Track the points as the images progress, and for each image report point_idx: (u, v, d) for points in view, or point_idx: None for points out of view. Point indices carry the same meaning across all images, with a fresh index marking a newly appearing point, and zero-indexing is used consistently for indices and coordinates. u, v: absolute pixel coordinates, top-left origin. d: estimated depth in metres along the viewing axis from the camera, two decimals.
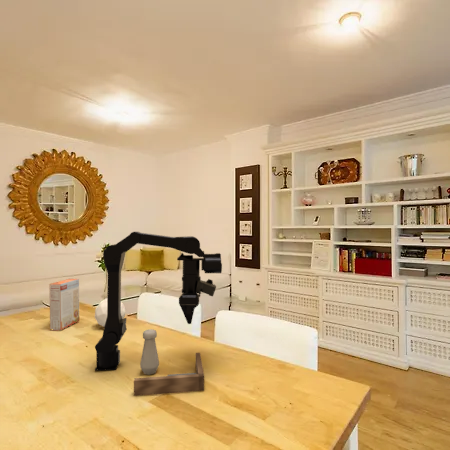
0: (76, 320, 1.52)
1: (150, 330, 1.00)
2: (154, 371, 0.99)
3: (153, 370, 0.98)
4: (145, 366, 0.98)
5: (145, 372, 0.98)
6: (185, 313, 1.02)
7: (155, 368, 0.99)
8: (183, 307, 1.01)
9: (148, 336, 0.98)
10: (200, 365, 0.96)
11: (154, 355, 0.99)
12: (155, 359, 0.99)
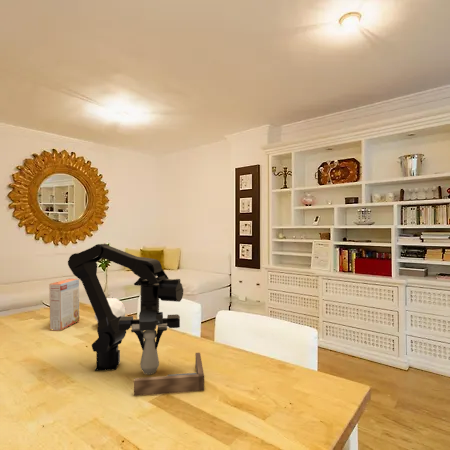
0: (76, 320, 1.52)
1: (150, 330, 1.01)
2: (154, 371, 0.99)
3: (153, 370, 0.98)
4: (144, 365, 0.98)
5: (145, 372, 0.98)
6: None
7: (155, 368, 0.99)
8: None
9: (148, 335, 0.98)
10: (200, 365, 0.96)
11: (154, 355, 0.99)
12: (155, 359, 0.99)
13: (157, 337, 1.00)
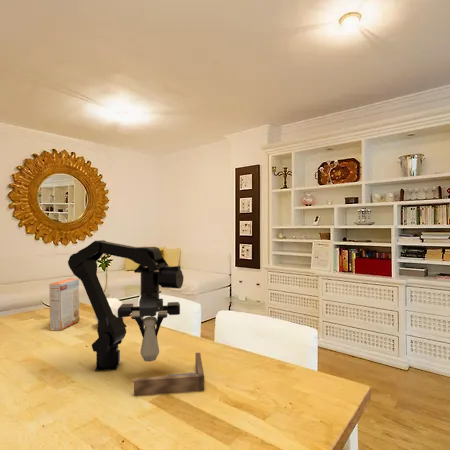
0: (76, 320, 1.52)
1: (150, 317, 1.01)
2: (154, 358, 0.99)
3: (153, 357, 0.98)
4: (145, 352, 0.98)
5: (145, 359, 0.98)
6: None
7: (155, 355, 0.99)
8: None
9: (148, 322, 0.99)
10: (200, 365, 0.96)
11: (154, 342, 0.99)
12: (155, 346, 0.99)
13: (157, 324, 1.00)
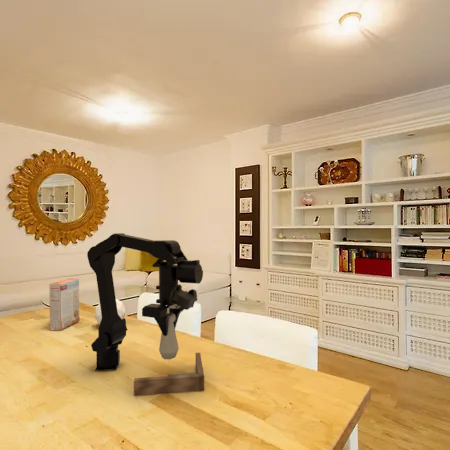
0: (76, 320, 1.52)
1: None
2: None
3: None
4: (173, 349, 0.94)
5: (172, 356, 0.95)
6: (159, 323, 0.94)
7: None
8: None
9: (173, 318, 0.96)
10: (200, 365, 0.96)
11: None
12: None
13: (176, 318, 0.98)
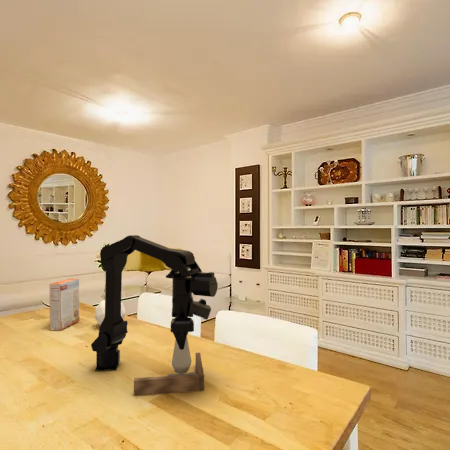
0: (76, 320, 1.52)
1: None
2: None
3: None
4: (190, 361, 0.93)
5: (188, 369, 0.93)
6: (177, 338, 0.91)
7: None
8: (175, 331, 0.90)
9: None
10: (200, 365, 0.96)
11: None
12: None
13: None
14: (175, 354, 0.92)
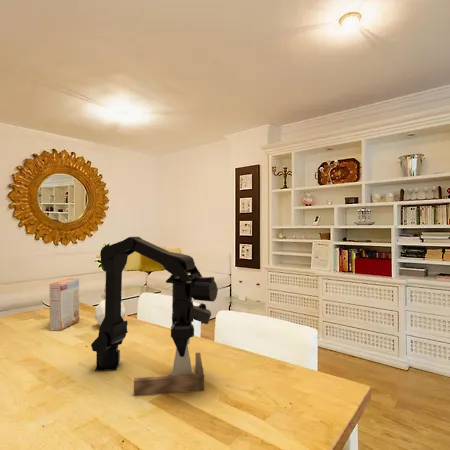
0: (76, 320, 1.52)
1: None
2: None
3: None
4: (190, 371, 0.93)
5: None
6: (177, 345, 0.89)
7: None
8: (175, 338, 0.88)
9: (189, 339, 0.94)
10: (200, 365, 0.96)
11: None
12: None
13: None
14: (175, 364, 0.92)
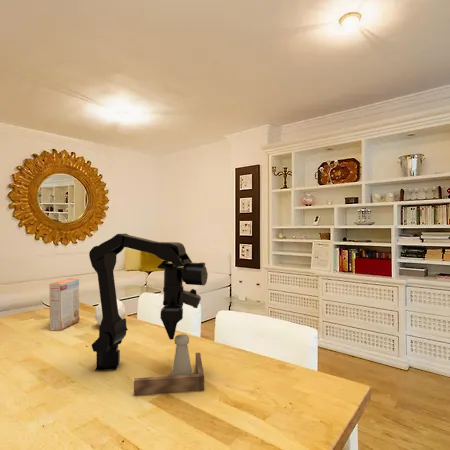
0: (76, 320, 1.52)
1: (182, 335, 0.95)
2: None
3: None
4: (190, 371, 0.93)
5: None
6: (167, 328, 0.92)
7: None
8: (165, 321, 0.92)
9: (188, 339, 0.94)
10: (200, 365, 0.96)
11: None
12: None
13: None
14: (175, 363, 0.92)
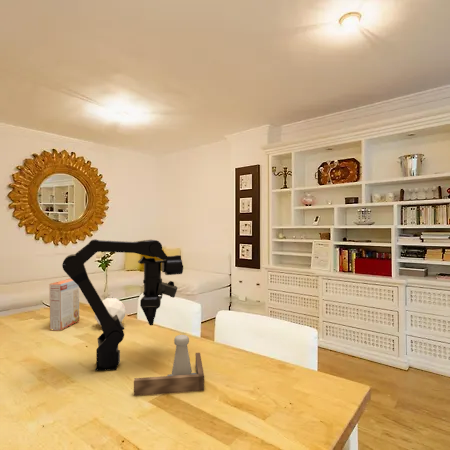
0: (76, 320, 1.52)
1: (181, 335, 0.94)
2: None
3: None
4: (190, 371, 0.93)
5: None
6: (147, 315, 1.04)
7: None
8: (145, 309, 1.04)
9: (188, 339, 0.94)
10: (200, 365, 0.96)
11: None
12: None
13: None
14: (175, 364, 0.92)
